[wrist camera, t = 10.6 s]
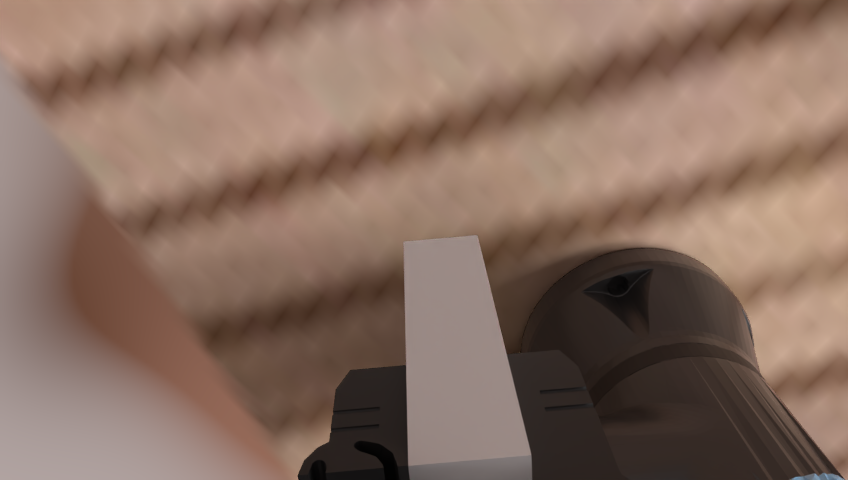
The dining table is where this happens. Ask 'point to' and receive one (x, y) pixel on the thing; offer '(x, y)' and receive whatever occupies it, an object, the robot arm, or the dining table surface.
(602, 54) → the dining table surface
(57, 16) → the dining table surface
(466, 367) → the robot arm
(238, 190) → the dining table surface
